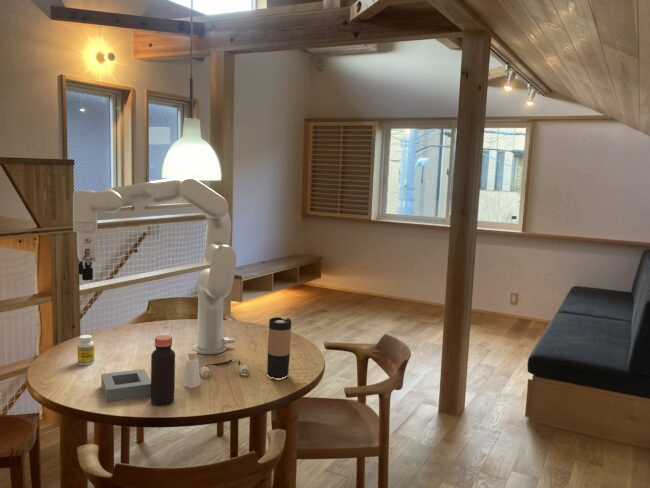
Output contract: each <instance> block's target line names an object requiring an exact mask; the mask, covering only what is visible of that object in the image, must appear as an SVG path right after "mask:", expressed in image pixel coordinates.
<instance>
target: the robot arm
mask: <svg viewBox="0 0 650 488" xmlns="http://www.w3.org/2000/svg"><path fill="white" fill-rule="evenodd" d="M184 201H185V202H187V203H188V204H189V205H192V207H194V208H196V209H197V210H198V211H199V212H200V214H202V215H204V217H205V218H206V220H207V221H206V222H207V225H208V226H207V236H206V241H205V246H204V247H205V248H204V252H203V253H204V254H203V257H204V260H205V261H206V262H207V264H209V265H210V267H209V268H204V269H203V270H202V271H200V272H199V274H198V276H197V280H196V289H197V290H196V291H197V301H198V303H197V327H196V328H197V330H196V331H197V332H196V334H197V335H196V342H197V343H195V344H193V345H192V351H196V352H197V354H200V355H217V354H222V353H223V352H225V351H226V350H227V346H226V345H227V344H229V345H230V344H235V338H233V337H232V338H230V337H224V336H223V328H224V326H223V325H224V298H227V296H229V294H230V293H231V291H232V288H233V284H234V281H235V279H234V278H235V274H236V273H235V272H236V267H237V259H238V258H237V257H238V256H237V253H236V251H235V249H234V248H233V247H232V246H231V245H230V240H231V233H232V221H231V216H230V214H229V212H228V211H229V203H228V201H227V200H226V199H225V198H224V197H223V196H222V195H220V194H219V193H217V192H216V191H215V190H213V189H212V188H209V187H208V186H207V185H205V183H202V182H201V181H199V180H198V179H196V178H194V177H189V176H178V177H172V178H167V179H165V178H164V179H160V180H154V181H153V180H152V181H147V182H140V183H135V184H129V185H121V186H115V187H109V188H104V189H102V190H100V191H95V190H92V189H77V190H74V191H73V193H72V232H74V233H76V254H77V258H78V275H80V276H81V275H82V276H81V279H82V281H93V280H94V268H93V262H96V261H97V254H96V253H97V252H96V249H97V248H96V247H97V246H96V234H95V233H97V232H98V212H99V213H108V214H114V213H117V212H119V211H120V210H121V209H123V208H127V207H135V206H143V207H152V206H153V207H155V206H160V205H161V206H162V205H167V204H170V203H171V204H172V203H177V202H178V203H179V202H184Z"/></svg>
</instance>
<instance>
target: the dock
mask: <svg viewBox="0 0 650 488" xmlns="http://www.w3.org/2000/svg"><path fill="white" fill-rule="evenodd" d="M100 377H101V378H100V382H101V384H100V385H101V389H102V392H103V396H104V398H105V401H106V404H107V403H113V402H121V401H128V400H134V399H135V400H136V399H142V398H149V397H150V398H151V378H150V377H149V375H148V373H147V372H146V370H145V368H141V369H140V368H139V369H131V370H125V371H115V372H107V373H106V372H105V373H101V374H100Z"/></svg>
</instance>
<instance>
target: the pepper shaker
mask: <svg viewBox="0 0 650 488" xmlns="http://www.w3.org/2000/svg"><path fill="white" fill-rule="evenodd" d="M197 357H198V353H197V352H196V351H193V350H191V351H188V358H187V360H186V363H185V371H184V376H183V377H184V378H183V386H184V387H185V388H187V389H188V388H191V389H194V388H198V387H200V385H201V377H200V375H201V373H200V364H199V358H197Z"/></svg>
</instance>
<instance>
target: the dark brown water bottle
mask: <svg viewBox="0 0 650 488" xmlns="http://www.w3.org/2000/svg"><path fill="white" fill-rule="evenodd" d="M172 346H173V336H172V335H168V334H160V335H157V336H155V337H154V347H155V349H154V351H152V353H150V354H151V355H150V361H151V362H150V366H151V367H150V381H151V396H150V403H151V404H152V405H154V406H156V407H163V406H164V407H165V406H170V405H172V403H173V402H175V387H176V386H175V384H176V383H175V381H176V378H175V377H176V376H175V374H176V373H175V372H176V353H175V350H173V349H172Z"/></svg>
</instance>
